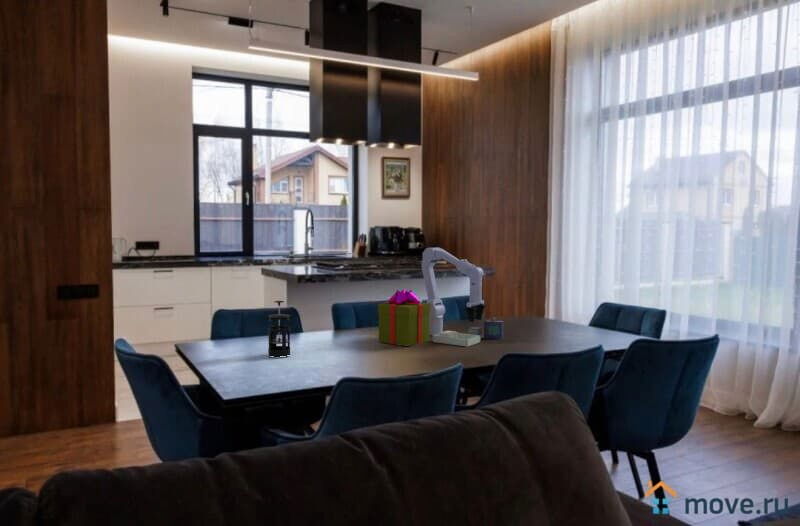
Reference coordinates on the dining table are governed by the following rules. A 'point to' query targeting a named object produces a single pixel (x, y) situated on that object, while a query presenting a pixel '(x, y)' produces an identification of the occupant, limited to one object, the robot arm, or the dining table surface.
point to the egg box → (449, 334)
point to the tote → (458, 339)
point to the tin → (475, 331)
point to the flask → (493, 329)
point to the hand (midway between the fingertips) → (475, 320)
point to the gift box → (403, 319)
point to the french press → (273, 330)
